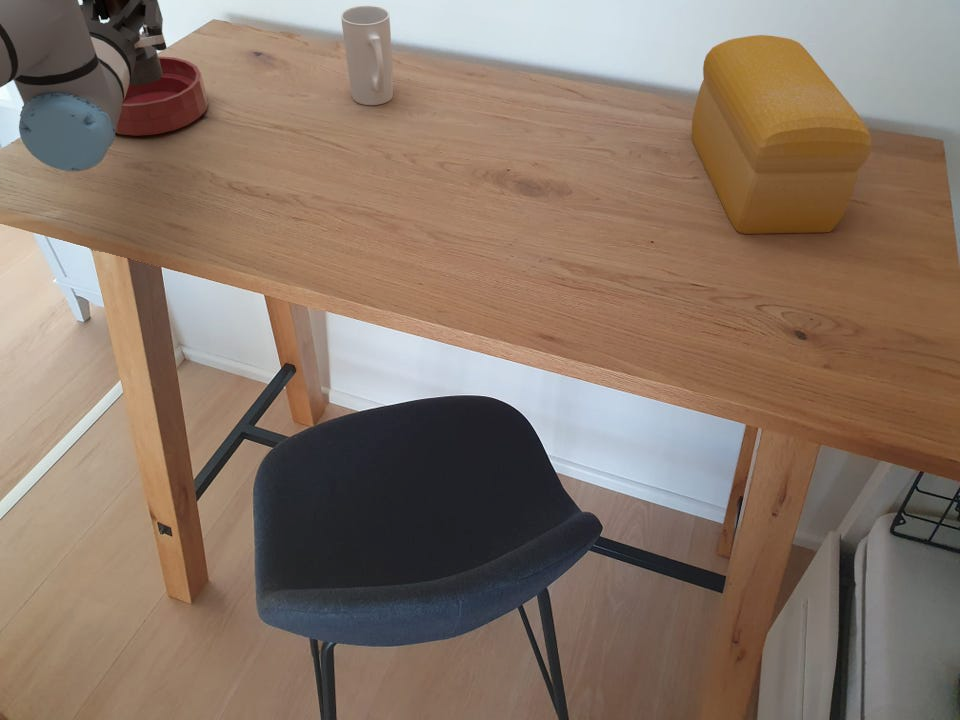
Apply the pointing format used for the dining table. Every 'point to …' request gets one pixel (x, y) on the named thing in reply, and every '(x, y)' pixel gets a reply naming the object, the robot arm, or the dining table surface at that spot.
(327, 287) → the dining table surface
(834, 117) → the bread
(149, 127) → the bowl
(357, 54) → the mug
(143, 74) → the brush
